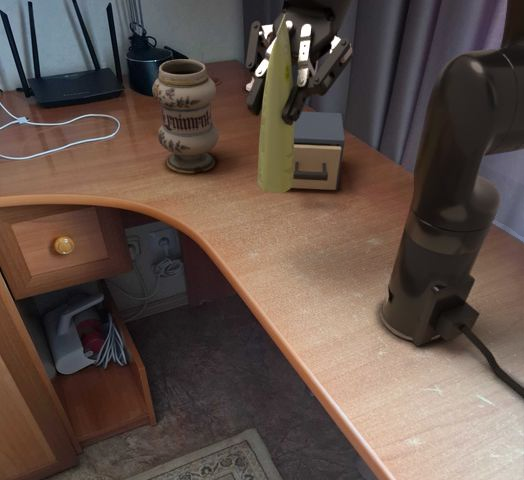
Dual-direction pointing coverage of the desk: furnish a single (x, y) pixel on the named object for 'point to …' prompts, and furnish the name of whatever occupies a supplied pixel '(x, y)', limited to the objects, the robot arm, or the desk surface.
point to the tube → (277, 119)
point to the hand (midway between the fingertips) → (269, 116)
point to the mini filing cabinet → (320, 131)
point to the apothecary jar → (186, 115)
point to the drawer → (315, 165)
